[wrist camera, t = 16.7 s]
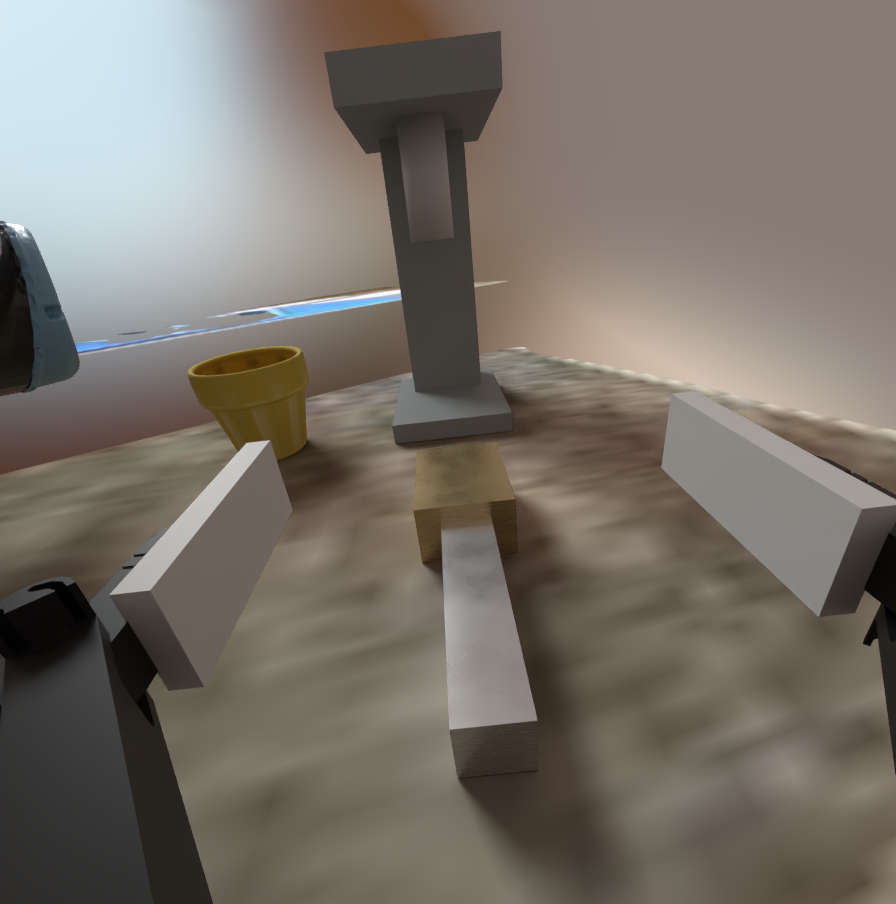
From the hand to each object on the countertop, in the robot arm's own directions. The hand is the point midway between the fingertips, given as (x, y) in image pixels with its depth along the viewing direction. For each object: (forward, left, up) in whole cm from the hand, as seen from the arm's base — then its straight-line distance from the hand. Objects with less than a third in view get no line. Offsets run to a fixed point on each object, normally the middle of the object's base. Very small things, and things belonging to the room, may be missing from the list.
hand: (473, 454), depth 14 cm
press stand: (0, +33, -11) cm, 35 cm away
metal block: (0, +5, -11) cm, 12 cm away
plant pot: (-19, +28, -12) cm, 36 cm away
